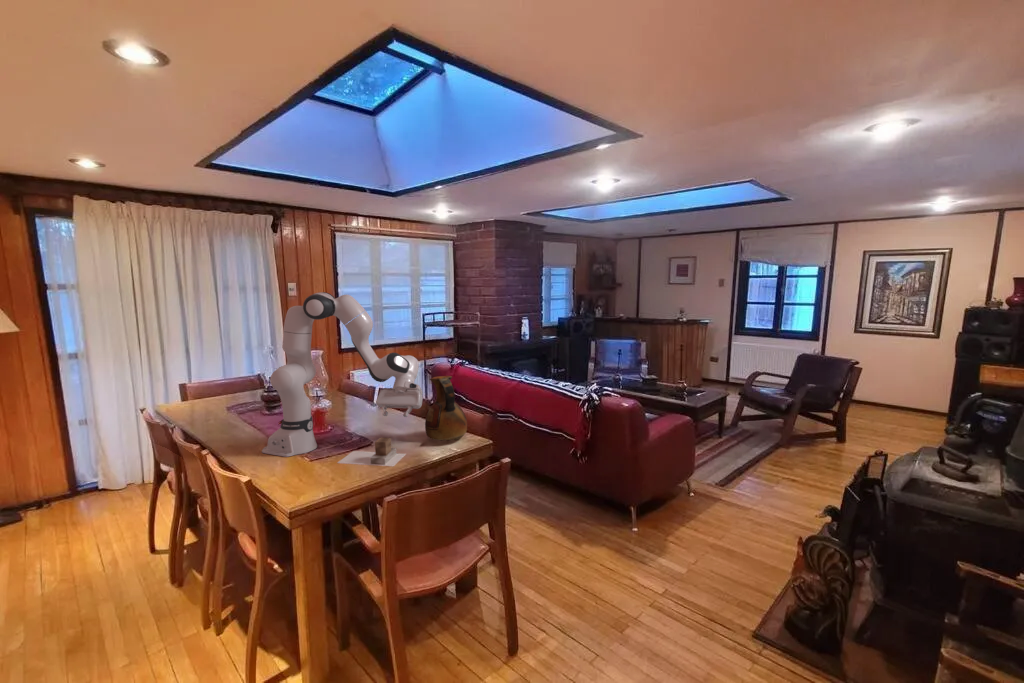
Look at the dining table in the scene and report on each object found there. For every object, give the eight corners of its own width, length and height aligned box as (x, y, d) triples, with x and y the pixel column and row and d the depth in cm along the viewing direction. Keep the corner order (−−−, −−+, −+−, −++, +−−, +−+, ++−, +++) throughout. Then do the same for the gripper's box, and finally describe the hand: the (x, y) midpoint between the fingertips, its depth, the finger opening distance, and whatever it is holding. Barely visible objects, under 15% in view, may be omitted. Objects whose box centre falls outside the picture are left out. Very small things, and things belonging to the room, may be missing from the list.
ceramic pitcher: (456, 428, 222) (454, 370, 219) (475, 440, 206) (473, 377, 202) (419, 436, 212) (416, 375, 208) (436, 449, 195) (434, 382, 191)
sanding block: (370, 463, 176) (369, 444, 175) (382, 453, 187) (382, 435, 186) (384, 464, 175) (383, 445, 174) (396, 454, 186) (395, 435, 185)
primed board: (337, 466, 177) (336, 462, 177) (353, 454, 190) (353, 450, 190) (393, 469, 174) (393, 466, 173) (406, 457, 186) (406, 453, 186)
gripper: (378, 384, 198) (369, 411, 190) (422, 385, 195) (415, 413, 187) (383, 391, 203) (374, 418, 195) (426, 392, 200) (419, 420, 192)
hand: (394, 415), depth 191 cm, fingers open, 8 cm apart
